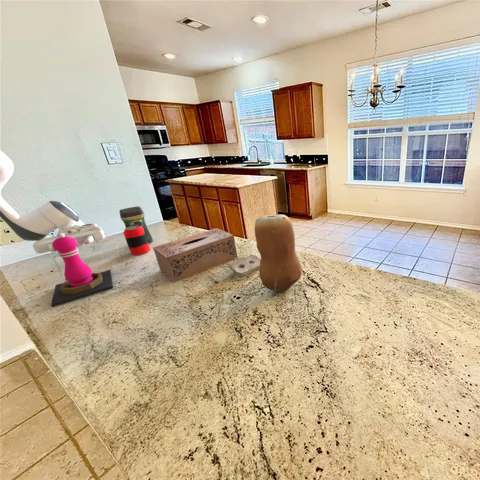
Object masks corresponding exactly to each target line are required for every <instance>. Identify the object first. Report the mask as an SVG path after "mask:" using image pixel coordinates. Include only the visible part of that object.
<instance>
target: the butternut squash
mask: <svg viewBox="0 0 480 480" xmlns="http://www.w3.org/2000/svg"><path fill="white" fill-rule="evenodd" d="M254 236H255V242H256V249H257V251H258V253H259V255H260V259H261V261H260V267H259V269H258V270H259V271H258V273H259V279H260V281H261V284H262V286H264V287H265V288H267V289H269V290H270V291H274V292H282V291H284V290H286V291H287V290H289V289H291V288H292V287H293V286H294V285H295V284H296V283H297V282H298V281H299V280H300V279H301V277H302V274H303V268H302V265H301V262H300V259H299V258H298V255H297V252H296V238H295V237H296V236H295V230H294V227H293V222H292V221H291V219H290V217H288V216H287V215H286V214H270V215H262V216H260V217H258V218H256V220H255V222H254Z"/></svg>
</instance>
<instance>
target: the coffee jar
mask: <svg viewBox="0 0 480 480" xmlns="http://www.w3.org/2000/svg"><path fill="white" fill-rule="evenodd" d="M119 217H120V220H121V221H122V222H123V224H124V227H125V228H127V227H131V226H140V227H142V228H143V229H144V232H145V235H146V238H147V241H148V244H151V243H152V242H153V241H154V239H153V236H152V233H151V232H150V230H149V228H148V225H147V223H146V220H145V212H144V210H143V209H142V207H141V206H139V205H138V206H132V207H126V208H122V209H119Z"/></svg>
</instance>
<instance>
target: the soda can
mask: <svg viewBox="0 0 480 480" xmlns="http://www.w3.org/2000/svg"><path fill="white" fill-rule="evenodd" d="M122 233H123V235H124V239H125V241H126V244H127V247H128V250H129V252H130V255H131V256H142V255H144V254H147V253H149V252H150V250H151V247H150V245H149V244H150V243H148V241H147V238H146V235H145V232H144V229H143V228H142V227H140V226H131V227H127V228H126V227H125V228H124V230H123V232H122Z"/></svg>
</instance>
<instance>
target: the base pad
mask: <svg viewBox="0 0 480 480" xmlns="http://www.w3.org/2000/svg"><path fill="white" fill-rule="evenodd" d="M91 277H93V279H94V280H93V281H92V282H90V283H88V284H85V285H81V286H78V287H74V288H72V287H71V285H70V284H71V282H69V281H67V280H66V281H64V282H61V283H58V284H55V287H54V289H53V290H54V291H53V295H52V299H51V302H50V306H51V308H54V307H57V306H60V305H64V304H66V303H70V302H73V301H76V300H79V299H83V298H86V297H89V296H92V295H95V294H99V293H102V292H105V291H108V290H111V289H114V283H113V277H112V272H111V269H108V270H104V271H101V272H92V275H91Z"/></svg>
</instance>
